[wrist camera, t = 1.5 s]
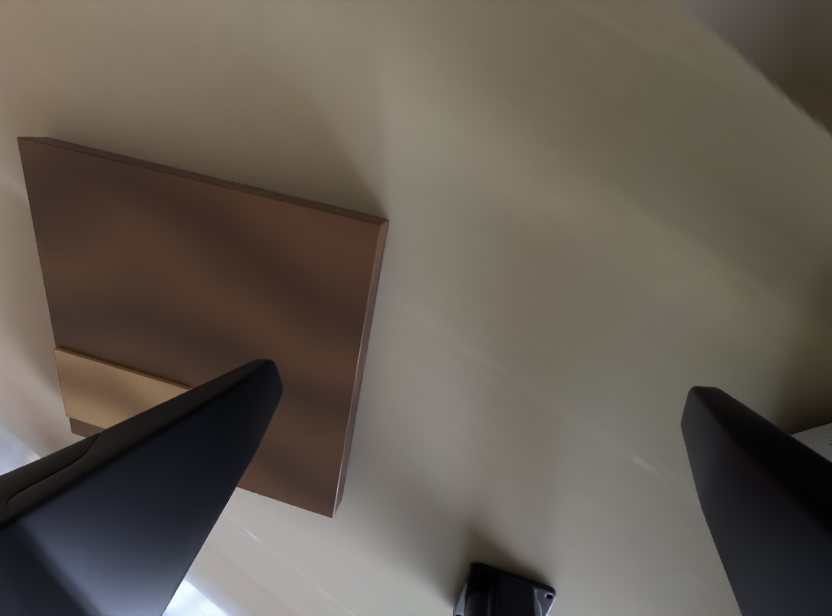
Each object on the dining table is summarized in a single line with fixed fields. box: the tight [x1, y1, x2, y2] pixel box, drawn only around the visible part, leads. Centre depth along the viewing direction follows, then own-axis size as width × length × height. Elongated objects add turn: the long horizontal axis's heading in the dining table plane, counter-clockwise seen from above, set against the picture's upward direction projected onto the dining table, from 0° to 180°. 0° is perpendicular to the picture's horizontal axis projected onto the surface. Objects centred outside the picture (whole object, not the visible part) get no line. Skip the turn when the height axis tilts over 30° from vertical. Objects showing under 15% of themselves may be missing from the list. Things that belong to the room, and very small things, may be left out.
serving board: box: [17, 137, 389, 518], centre depth 27 cm, size 22×22×2 cm
